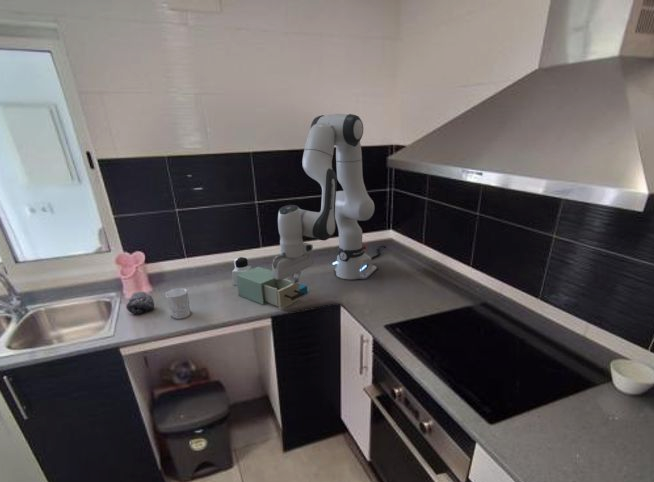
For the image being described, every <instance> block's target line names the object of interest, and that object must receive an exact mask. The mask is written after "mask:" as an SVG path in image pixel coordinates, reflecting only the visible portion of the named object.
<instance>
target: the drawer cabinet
mask: <svg viewBox="0 0 654 482" xmlns="http://www.w3.org/2000/svg"><path fill="white" fill-rule="evenodd" d="M236 277H237V283H238V285H237V290H238V295H239V296H240V297H243V298H245V299H248V300H250V301H253V302H255V303H258V304H261V305H266V304H268V303H269V302H267V301H264V294H263V286H262V285H263V284H266V283H268V282H270V281H272V280H275V279H274V278H273V276H272V269H271V270H270V269H268V268H265V267H261V266H256V267H253V268H252V269H251V270H248V271H246V272H243V273H240V274H238V275H236Z"/></svg>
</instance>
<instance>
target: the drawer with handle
mask: <svg viewBox="0 0 654 482" xmlns="http://www.w3.org/2000/svg"><path fill="white" fill-rule="evenodd" d="M299 284H300V281H299V282H297V283H295V284H292V283H291V279H287V278H285V279H283V280H280V281H279V280H276V279H275V280H272V281H270V282H268V283H266V284H263V285H262V286H263V294H264V301H267V302H268V303H269V304H272V305H274V306H277V307H278V309H280V310H281V309H284V308H285V307H287V306H289V305H291V304H293V303H295V302H296V301H299V300H300V299H301V297H303V296H305V295H304V292H303V291H302V292H300V291H299ZM302 295H303V296H302Z"/></svg>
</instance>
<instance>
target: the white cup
mask: <svg viewBox="0 0 654 482" xmlns="http://www.w3.org/2000/svg"><path fill="white" fill-rule="evenodd" d="M165 297H166V301H167V304H168V307H169V310H170V312H171V315H172V318H174V319H176V320H179V319H180V320H181V319H185V318H187V317H189V316H191V308H190V307H191V306H190V300H189V299H190V298H189V294H188V290H187V289H186V288H183V287H179V288H178V287H177V288H172V289H170V290H168V291H166V292H165Z"/></svg>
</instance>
